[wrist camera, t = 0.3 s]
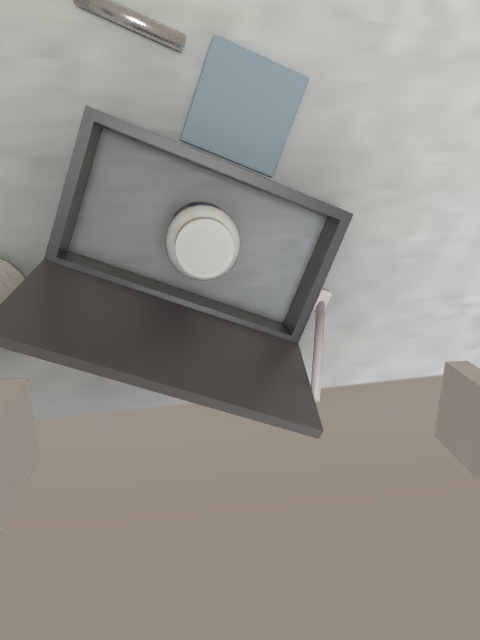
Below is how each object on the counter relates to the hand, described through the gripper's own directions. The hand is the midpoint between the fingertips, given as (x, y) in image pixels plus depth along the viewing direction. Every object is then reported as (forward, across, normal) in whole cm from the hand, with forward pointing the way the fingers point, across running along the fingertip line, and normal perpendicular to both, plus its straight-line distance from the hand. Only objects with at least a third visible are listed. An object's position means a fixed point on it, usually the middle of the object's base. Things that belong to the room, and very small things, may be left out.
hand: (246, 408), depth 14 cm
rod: (+27, -5, +18) cm, 33 cm away
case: (+27, -1, +1) cm, 27 cm away
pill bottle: (+27, -1, +3) cm, 27 cm away
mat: (+27, +3, +12) cm, 30 cm away
